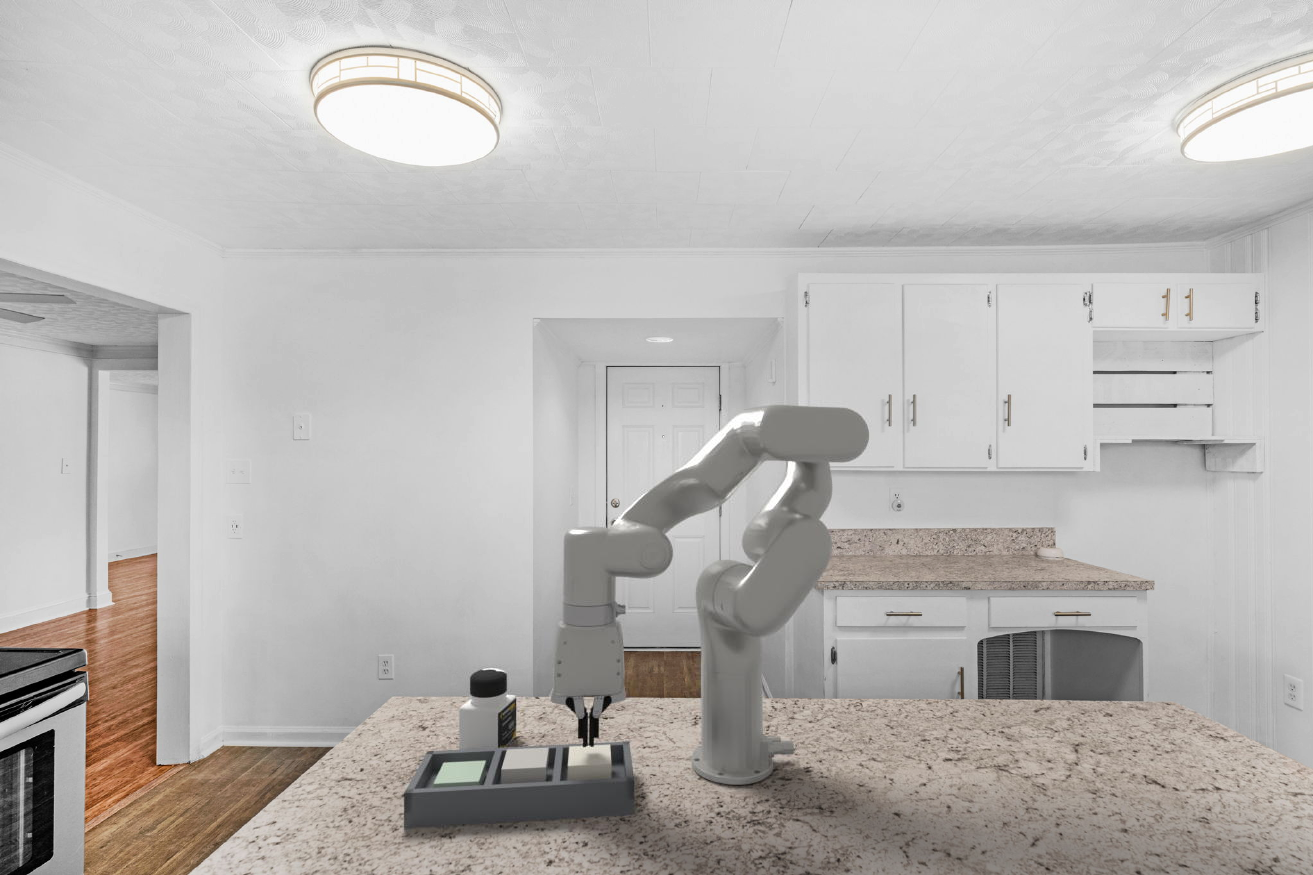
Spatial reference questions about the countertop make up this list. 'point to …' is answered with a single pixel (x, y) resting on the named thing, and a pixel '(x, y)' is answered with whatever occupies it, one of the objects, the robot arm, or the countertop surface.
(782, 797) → the countertop surface
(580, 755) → the cream key
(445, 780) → the sage key
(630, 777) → the grey compartment tray
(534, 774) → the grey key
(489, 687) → the medicine bottle
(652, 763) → the countertop surface
